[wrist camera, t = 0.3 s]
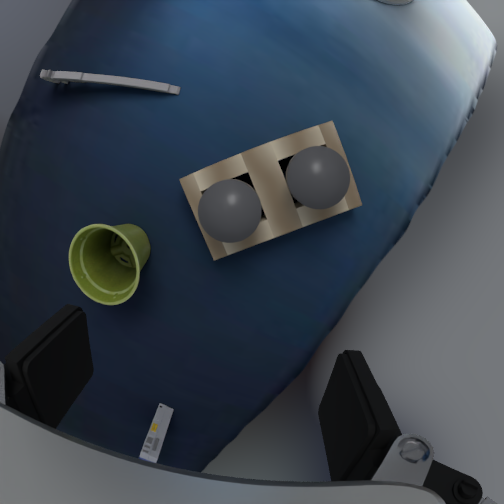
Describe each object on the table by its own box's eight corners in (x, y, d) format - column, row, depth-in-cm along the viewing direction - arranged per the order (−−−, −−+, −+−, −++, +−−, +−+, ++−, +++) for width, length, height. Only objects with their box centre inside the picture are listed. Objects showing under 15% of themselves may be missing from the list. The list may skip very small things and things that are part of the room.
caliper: (58, 84, 33) (33, 77, 27) (60, 77, 32) (35, 69, 26) (179, 95, 34) (164, 83, 28) (181, 87, 33) (167, 74, 27)
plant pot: (174, 230, 38) (151, 249, 30) (149, 290, 41) (125, 319, 32) (114, 199, 37) (80, 209, 29) (94, 259, 40) (61, 280, 31)
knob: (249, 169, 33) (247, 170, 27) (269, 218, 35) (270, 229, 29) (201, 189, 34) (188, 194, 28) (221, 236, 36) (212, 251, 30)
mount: (325, 125, 34) (332, 120, 30) (352, 200, 36) (362, 205, 33) (187, 177, 36) (179, 179, 32) (218, 250, 39) (214, 260, 35)
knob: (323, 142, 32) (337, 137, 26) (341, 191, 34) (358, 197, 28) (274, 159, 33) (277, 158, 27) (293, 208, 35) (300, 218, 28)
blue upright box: (165, 431, 49) (150, 478, 37) (152, 426, 49) (134, 472, 37) (174, 408, 47) (158, 459, 35) (159, 402, 47) (140, 452, 35)
